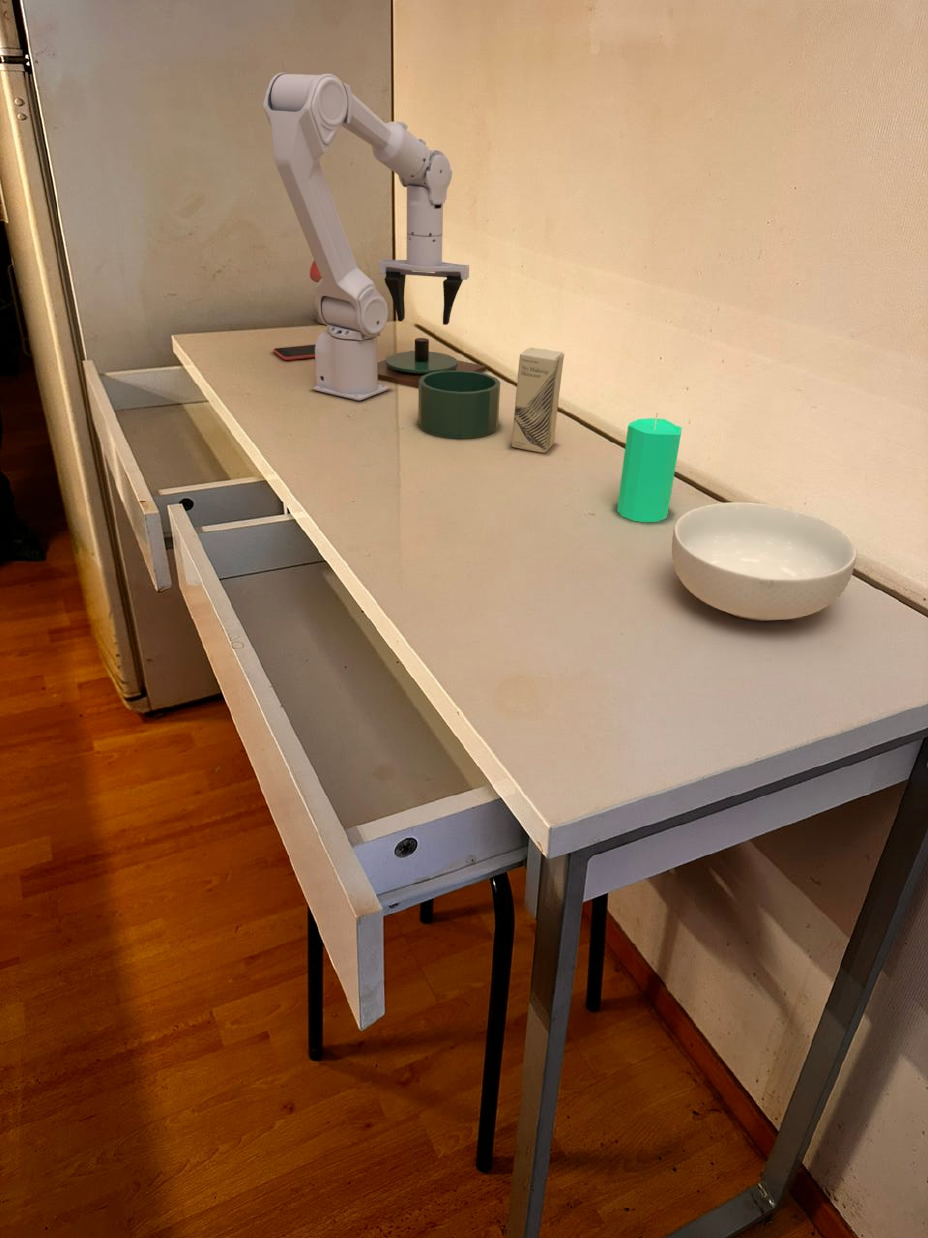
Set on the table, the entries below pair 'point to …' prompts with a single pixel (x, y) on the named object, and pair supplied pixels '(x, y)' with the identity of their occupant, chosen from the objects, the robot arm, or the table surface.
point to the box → (537, 399)
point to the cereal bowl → (761, 559)
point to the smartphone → (296, 352)
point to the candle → (648, 469)
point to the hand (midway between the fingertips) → (423, 321)
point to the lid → (421, 360)
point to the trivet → (413, 378)
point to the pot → (458, 404)
